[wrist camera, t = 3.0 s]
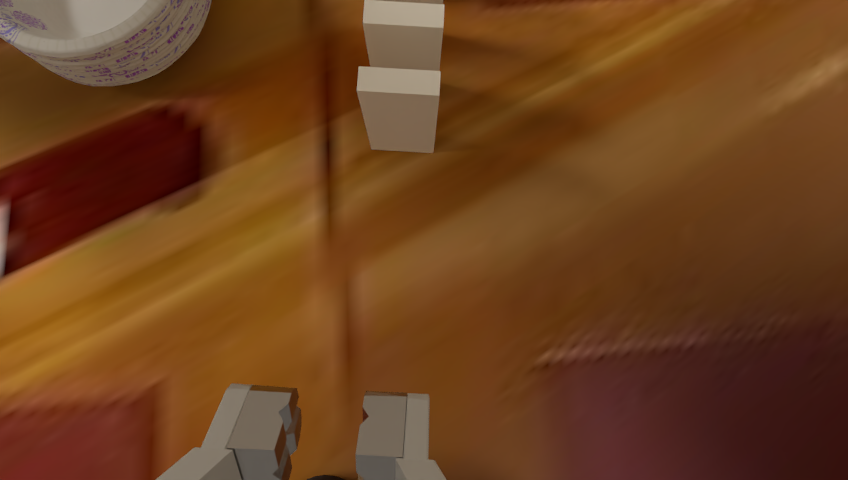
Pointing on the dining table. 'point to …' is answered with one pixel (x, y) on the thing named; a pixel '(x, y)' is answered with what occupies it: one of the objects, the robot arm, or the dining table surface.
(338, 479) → the coffee mug
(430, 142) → the domino
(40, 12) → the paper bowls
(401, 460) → the robot arm
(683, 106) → the dining table surface
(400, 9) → the domino
